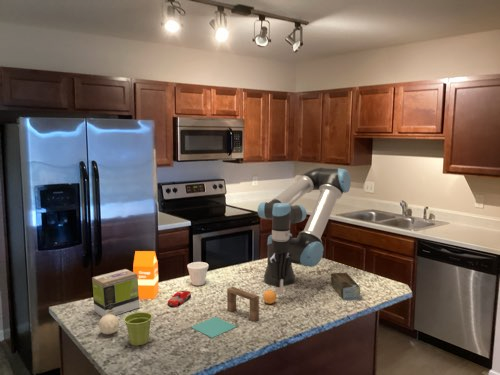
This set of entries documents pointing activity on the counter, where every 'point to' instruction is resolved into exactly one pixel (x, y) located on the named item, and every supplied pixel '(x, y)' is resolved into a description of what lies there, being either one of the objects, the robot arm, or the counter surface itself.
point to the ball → (269, 296)
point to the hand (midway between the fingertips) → (279, 293)
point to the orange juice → (146, 273)
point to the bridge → (252, 297)
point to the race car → (179, 298)
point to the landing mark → (213, 327)
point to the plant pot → (138, 327)
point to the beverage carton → (345, 286)
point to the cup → (197, 272)
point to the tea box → (115, 292)
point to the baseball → (108, 324)
